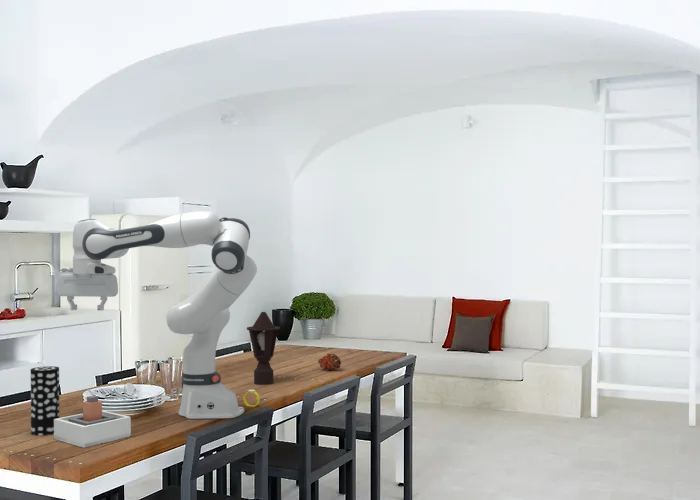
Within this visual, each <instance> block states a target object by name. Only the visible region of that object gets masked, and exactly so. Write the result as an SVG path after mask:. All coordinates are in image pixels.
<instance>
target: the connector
mask: <svg viewBox="0 0 700 500" xmlns="http://www.w3.org/2000/svg"><path fill="white" fill-rule="evenodd" d="M102 410H103V401H101V400H99V396H98V395H97V396H96V395H90V396H86V400H85V401H82V413H83V421H87V422H91V421H95V420H100V419H102Z"/></svg>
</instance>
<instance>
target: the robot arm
mask: <svg viewBox="0 0 700 500" xmlns="http://www.w3.org/2000/svg"><path fill="white" fill-rule="evenodd" d="M250 239H251V231H250V228H249V225H248V224H247V223H246V221H244V220H242V219H239V218H234V217H232V218H231V217H230V218H229V217H226V216H225V217H222V218H219V216H218V215H217V214H216V213H215V212H213V211H210V210H207V211H206V210H199V211H188V212H183V213H177V214H174V215H171V216H167V217H164V218H162V219H159V220H156V221H153V222H151V223H148V224H144V225H140V226H135V227H129V228H124V229H116V228H114V227H111V226H108V225H106V224H104V223H102V222H101V221H100V220H99V219H97V218H87V219H82V220H79V221H77V222H76V223H75V224H74V226H73V233H72V249H73V256H72V268H71V267H69V268H66V267H65V268H61V269H59V270H58V271H57V275H56V276H57V283H56V289H55V290H56V293H55V294H57V296H58V297H66V300H67V302H68V304H69V305H70V306H69V307H70V311H78V304H75V302H74V300H75V297H95V298H97V297H98V298H99V297H100V299H99V300H101V301H100V303H99V304H98V305H97V311H101V312H103V311H104V310H105V304H106V302H107V301H108V297H109V298H110V297H111V298H112V297H116V296H117V295H118V294H119V285H118V284H119V283H118V278H117V276H116V274H115V273H116V268H115V266H113V265H109V264H105V263H104V262H103V263H102V260H107V259H108V260H109V259H111V260H112V259H118V258H121V257H124V256H125V255H126V254H127V253H128V252H129V250H130V249H134V248H138V247H140V248H141V247H155V248H156V247H158V248H165V249H182V248H188V247H189V248H190V247H196V246H198V245H207V246H211V247H212V249H211V260H212V263H213V265H214V266H215V267H216V268H217V269H218V270H217V271H216V273H215V274H214V275H213V276H212V277H211V278H210V280H208V282H207V283H205V285H203V287H201V288H200V289H198V290H197V291H196V292H194V293H192V294H191V295H190V296H189V297H187V298H186V299H184V300H182V301H181V302H179V303H177V304H174V305H172V306H171V307H170V308H169V309H168V311H167V313H166V324H167V327H168V328H169V330H170V331H171V332H173V333H175V334H180V335H192V336H191V339H190V341H189V343H188V344H187V345H186V346H185V347H184V349H183V350H182V373H181V388H182V389H181V390H182V392H181V393H182V394H181V400H180V406H179V410H178V413H177V414H178V415H179V416H182V417H185V418H186V419H188V420H189V419H191V420H192V419H197V420H198V419H199V420H200V419H203V420H204V419H232V418H237V417H240V416H241V415H243V414H244V412H245V408H244V407H243V406H239V404H238V398H237V395H236V393H235V392H234V391H233V390H231V389H230V388H228V387H227V386H226V385H224V383H222V380H221V379H222V377H223V376H222V373H219V372H217V371H216V355H217V354H216V352H217V346H218V342H219V338H220V336H221V333H222V332H223V330H224V328H225V327H226V326H227V325H228V323H229V322H230V319H231V312H230V307H231V306H232V305H233V304H234V303H235V302H236V301H237V300H238V298H239V297H240V296H241V295H242V294H243V293H244V292H245V290H247V288H248V287H249V286H250V284H251V283H252V281H253V280H254V278H255V276H256V275H257V272H258V271H257V270H258V268H257V264H256V262H255V261H254V260H253V259H252V257H250V256H248V254H247V253H248V249H249V243H250Z"/></svg>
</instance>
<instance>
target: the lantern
mask: <svg viewBox="0 0 700 500" xmlns="http://www.w3.org/2000/svg"><path fill="white" fill-rule="evenodd" d="M246 330H247V331H249V332H248V333H249V338H250V342H251V348H252V352H253V357H254V358H255V359H256V362H257V366H256V368H255V369H254V371H253V384H254V385H257V386H268V385H269V386H270V385H273V384H274V369H273V368H272V367H271V364H270V361H271V360H272V358H273V356H274V354H275V353H274V352H275V347H276V343H277V342H276V341H277V337H278V332H279V330H281V326H276V325H274V324H273V322H272V320H271V319H270V317H269V316H268V314H267V312H266V311H261V312H260V314H259V315H258V317H257V318H256V320H255V322H254V324H253V325H252V326H247V327H246Z"/></svg>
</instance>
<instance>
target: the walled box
mask: <svg viewBox="0 0 700 500" xmlns="http://www.w3.org/2000/svg"><path fill="white" fill-rule="evenodd" d="M131 421H132V419H131V416H128V415H123V414H119V413H116V412H111V411H106V410H103V409H102V419H100V420H95V421H91V422H87V421H83V412H82V413H78V414H72V415H68V416H63V417H59V418H57V419H54V434H53V440H56V441H60V442H64V443H67V444H70V445H74V446H76V447H77V446H78V447H80V448H83V449H85V448H89V447H93V446H98V445H102V444H105V443H109V442H113V441H118V440H122V439H126V437H127V438H131V437H130V436H132V433H131V432H132V431H131V430H132V429H131V427H132V426H131ZM101 443H102V444H101Z"/></svg>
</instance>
